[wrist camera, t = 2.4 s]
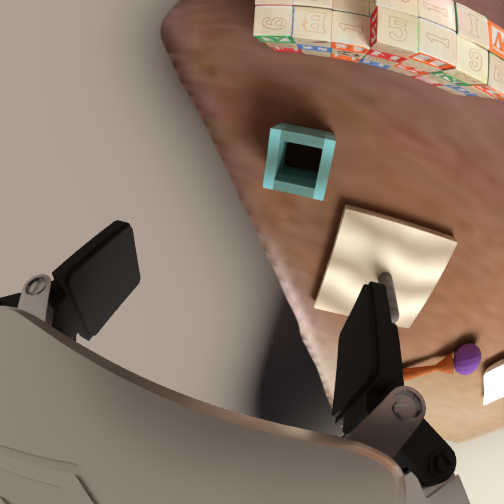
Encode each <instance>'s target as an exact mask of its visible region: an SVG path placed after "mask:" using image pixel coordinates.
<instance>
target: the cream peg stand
mask: <svg viewBox="0 0 504 504" xmlns="http://www.w3.org/2000/svg"><path fill="white" fill-rule="evenodd" d="M456 245H457V241H456V240H455V238H454V237H453V236H450V235H447V234H444V233H441V232H438V231H435V230H432V229H429V228H426V227H423V226H420V225H417V224H414V223H411V222H407V221H404V220H401V219H398V218H394V217H391V216H388V215H384V214H381V213H377V212H374V211H370V210H367V209H363V208H359V207H356V206H352V205H348V204H345V207H344V210H343V214H342V217H341V221H340V224H339V228H338V231H337V235H336V238H335V241H334V245H333V248H332V251H331V254H330V258H329V261H328V264H327V267H326V270H325V273H324V276H323V279H322V282H321V285H320V288H319V291H318V294H317V297H316V299H315V304H314V308H317V309H321V310H325V311H330V312H334V313H338V314H343V315H347V316H349V315H350V312H351V310H352V308H353V306H354V304H355V302H356V300H357V298H358V295H359V293H360V291H361V289H362V287H363V285H364V284H369V282H370V281H373V282H377V283H381V284H385V286H386V290H387V296H388V301H389V307H390V314H391V320H392V323H395V324H396V325H397V326H399V327H404V328H409V327H410V325H411V324H412V322H413V321H414V319H415V318H416V316H417V315H418V313H419V312H420V310H421V309H422V307H423V305H424V304H425V302H426V301H427V299H428V297H429V296H430V294H431V292H432V290H433V289H434V287H435V285H436V283H437V282H438V280H439V278H440V276H441V274H442V273H443V271H444V269H445V267H446V265H447V263H448V261H449V259H450V257H451V255H452V253H453V251H454V249H455V247H456Z"/></svg>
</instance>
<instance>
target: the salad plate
mask: <svg viewBox="0 0 504 504" xmlns="http://www.w3.org/2000/svg"><path fill="white" fill-rule="evenodd" d="M483 382H484V400H483V405H486V404H489V403H491V402H493V401H495V400H497V399H499V398H501V397H503V396H504V358H503V359H501V360H500V361H498V362H496V363H494V364H492V365H491V366H490V367H489V368H488V369H487V370H486V371H485V373H484V376H483Z"/></svg>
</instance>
